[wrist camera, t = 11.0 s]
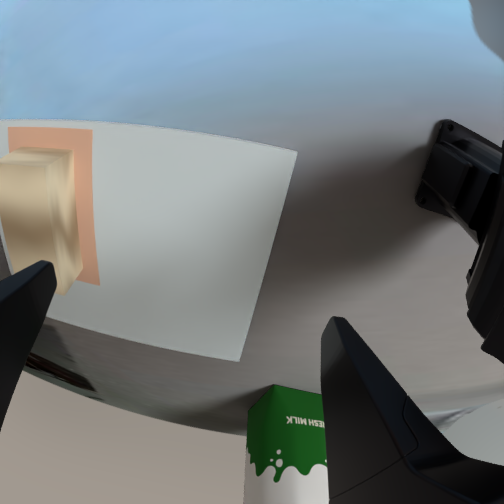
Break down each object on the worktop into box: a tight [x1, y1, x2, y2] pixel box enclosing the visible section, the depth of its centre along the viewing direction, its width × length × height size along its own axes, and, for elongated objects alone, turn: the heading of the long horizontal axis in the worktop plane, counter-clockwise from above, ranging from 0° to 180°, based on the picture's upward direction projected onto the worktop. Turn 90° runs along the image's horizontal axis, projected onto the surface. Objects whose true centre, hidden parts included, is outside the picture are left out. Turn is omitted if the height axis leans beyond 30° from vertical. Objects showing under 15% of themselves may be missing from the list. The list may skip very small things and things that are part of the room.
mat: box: [0, 119, 298, 362], centre depth 23 cm, size 24×20×1 cm
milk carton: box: [243, 385, 330, 504], centre depth 26 cm, size 9×9×20 cm
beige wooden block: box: [0, 147, 83, 296], centre depth 19 cm, size 10×5×4 cm, turn 169°
